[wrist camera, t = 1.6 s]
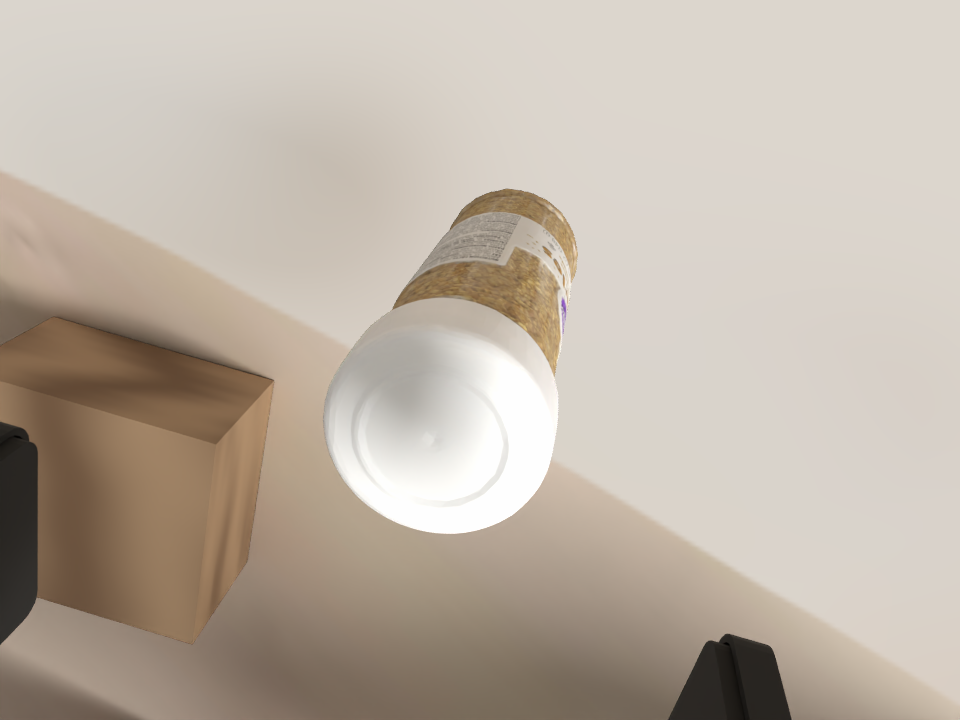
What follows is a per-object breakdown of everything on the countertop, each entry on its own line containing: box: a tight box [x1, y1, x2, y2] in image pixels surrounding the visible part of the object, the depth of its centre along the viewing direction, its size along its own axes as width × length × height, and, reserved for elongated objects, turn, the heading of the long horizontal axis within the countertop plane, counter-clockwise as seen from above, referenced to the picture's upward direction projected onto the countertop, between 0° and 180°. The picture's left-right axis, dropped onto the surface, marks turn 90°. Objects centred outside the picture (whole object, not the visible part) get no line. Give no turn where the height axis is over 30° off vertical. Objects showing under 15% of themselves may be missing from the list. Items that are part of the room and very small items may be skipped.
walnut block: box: [0, 317, 274, 644], centre depth 30 cm, size 9×9×5 cm
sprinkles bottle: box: [323, 189, 578, 534], centre depth 21 cm, size 5×5×13 cm
